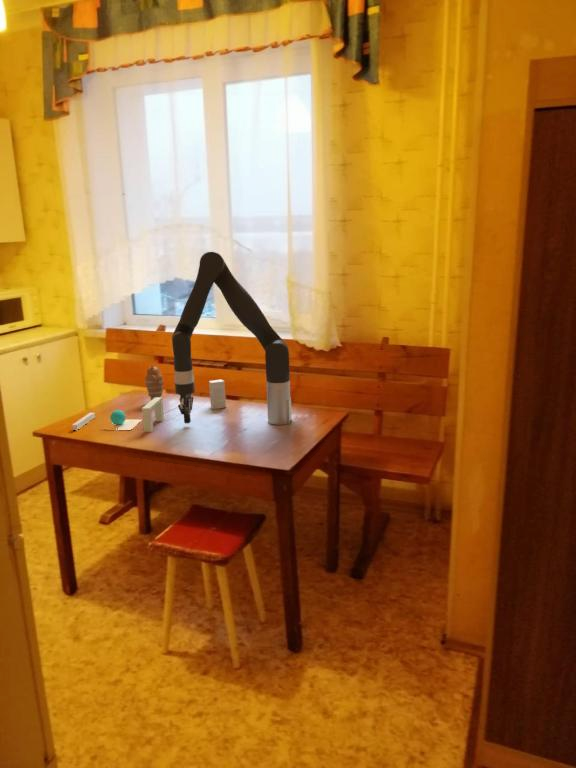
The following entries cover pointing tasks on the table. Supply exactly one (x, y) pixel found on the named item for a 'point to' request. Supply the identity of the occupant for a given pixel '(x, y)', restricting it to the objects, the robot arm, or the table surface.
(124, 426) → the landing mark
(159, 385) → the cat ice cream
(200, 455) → the table surface
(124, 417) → the ball
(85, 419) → the stopper
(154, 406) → the bridge
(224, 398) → the skincare box
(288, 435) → the table surface
